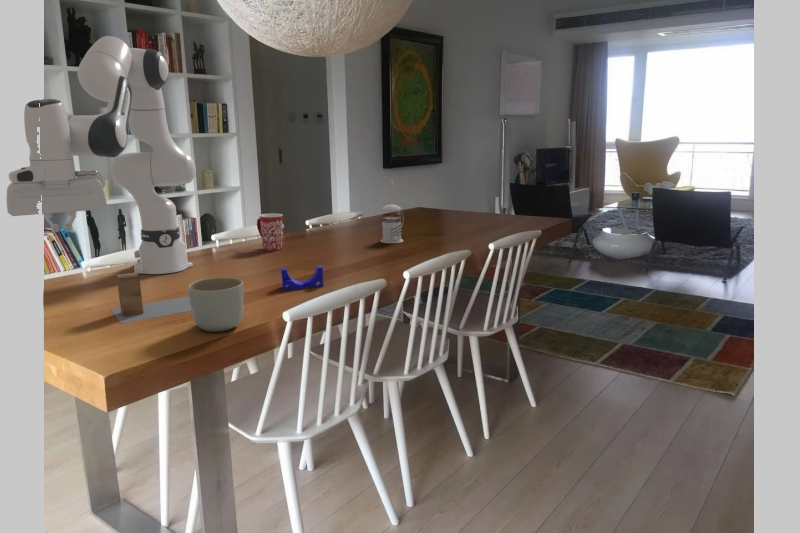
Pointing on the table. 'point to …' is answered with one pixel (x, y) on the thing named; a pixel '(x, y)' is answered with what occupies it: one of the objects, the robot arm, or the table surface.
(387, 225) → the french press
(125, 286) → the walnut block
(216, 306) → the planter
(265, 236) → the mug
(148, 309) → the mat
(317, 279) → the blue cradle bracket
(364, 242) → the table surface
